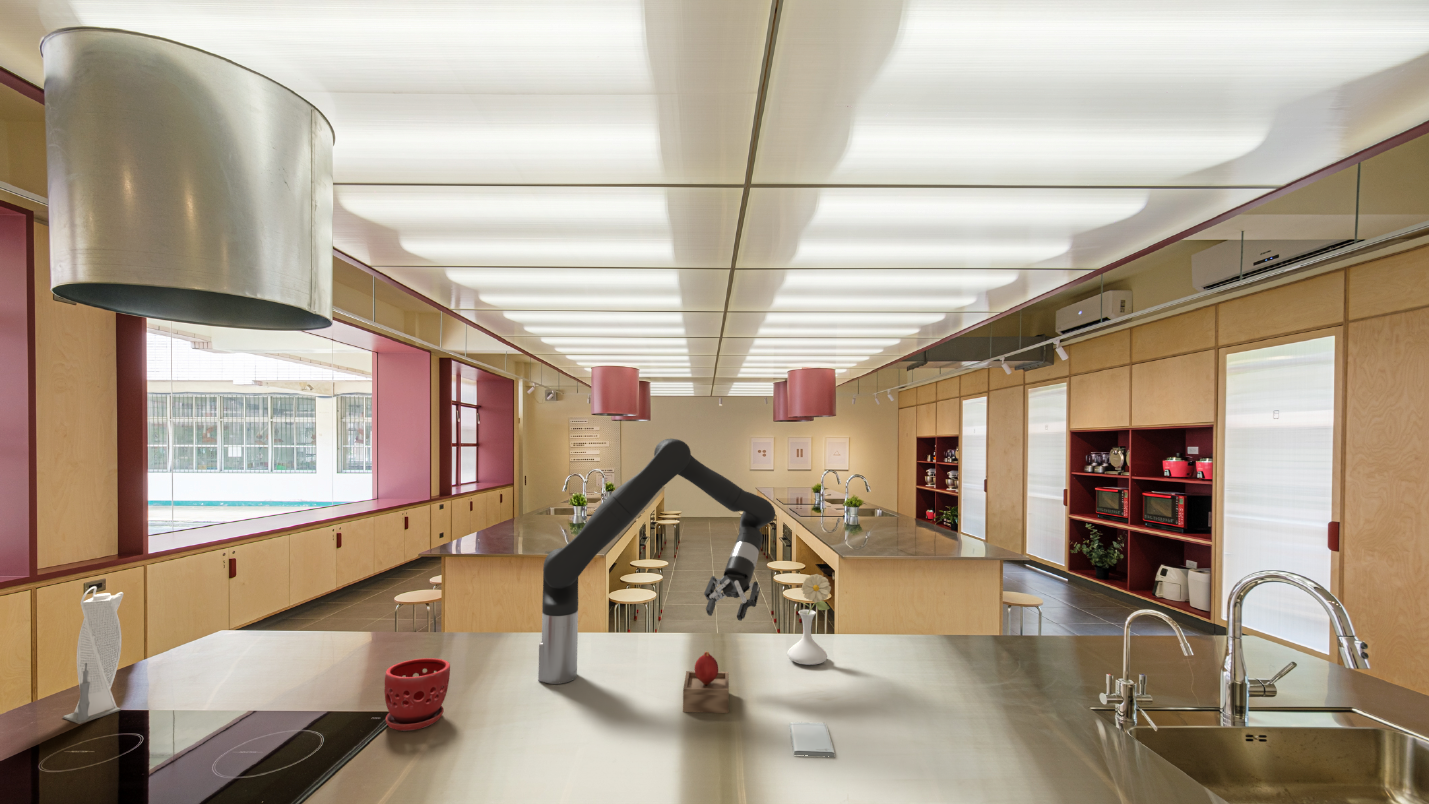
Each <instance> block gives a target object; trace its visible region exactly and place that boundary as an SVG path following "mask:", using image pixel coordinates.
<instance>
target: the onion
mask: <svg viewBox="0 0 1429 804" xmlns="http://www.w3.org/2000/svg"><path fill="white" fill-rule="evenodd" d="M693 671H695V675H696V677H697V678H698V679H699V680H700V681H701V682H702V683H703V684H704V685H708V684H710V683H711V682H712V681H713V680H714V679H715V678H716V677H717V675H718V672H719V665H718V661H717V660H716V659H715V658H714V656H713V655H711V654H710V652H709V651H708V650H707V651H704V654H703V655H701V656H699V657H698V659H697V660H696V662H695V663H694V670H693Z"/></svg>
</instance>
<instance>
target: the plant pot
mask: <svg viewBox="0 0 1429 804" xmlns="http://www.w3.org/2000/svg"><path fill="white" fill-rule="evenodd" d="M424 670H426V671H425V672H424ZM450 673H451V664H450V662H449V661H447V660H445V659H441V658H432V657H431V658H430V657H425V658H415V659H409V660H405V661H402V662H398V663H396V664H394V665H391V666H390V667H388V668H387V669H386V671H385V675H384V689H383V690H384V701H385V704H386V709H387V711H388V713H387V715H386V716H385V723H386V724H387V726H388V727H389V728H390V729H393V730H395V731H401V732H408V731H415V730H420V729H423V728H426V727H429V726H431V725H433V724H435V723H436V722H438V721H439V720H440V718H441V717H442V716H443V714H444V706H442V704H444V701H445V698H446V696H447V693H448V688H449V682H450V676H451V674H450ZM415 674H418V676H414V675H415Z"/></svg>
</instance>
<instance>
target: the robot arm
mask: <svg viewBox="0 0 1429 804" xmlns="http://www.w3.org/2000/svg"><path fill="white" fill-rule="evenodd" d="M653 456H654V457H652V459H651V460H650V461H649V462H648V464H647V465H645V467H644V468H643V469H642V470H640V471H639V472H637V474H636V475H634V476H633V477H631V478H630V479H628V480H627V481H625V482H624V483H622V484H621V485H620V486H618V488H616V489H615V490H614V491H612V493H610V495H608V497H606V498H605V500H604V501H603V502H602V503H601V504H600V505H599V506H598V507H597V508H596V509H595V511H594V512H593V513H592V514H591V516H590V517H589V519H588V520H587V522H586V523H585V525H584V526H583V527H582V529H581V530H580V531H579V533H578V534H576V536H575V537H574V538H572V540H571V541H569V543H567V544H566V545H565V546H564V547H559V548H555V549H553V550H552V551H550V552H549V553H548V554H547V556H546V557H545V558H544V562H543V568H542V572H543V574H542V581H543V582H542V605H541V607H542V608H541V609H542V611H541V612H542V613H541V614H542V615H541V616H542V617H541V641H540V642H539V645H538V673H537V674H538V675H537V676H538V677H537V678H538V679H537V681H538V682H543V683H545V684H550V685H560V684H566V683H569V682H572V681H573V680H575V679H576V678H577V676H578V638H579V636H578V635H579V634H578V631H579V630H578V629H579V628H578V627H579V625H578V624H579V577H580V576H581V574H582V573H583V572H584V570H585V569H586V568H587V566H588V565H589V564H590V563H591V562H592V560H593V559H594V558H595V557H596V556H597V554H599V553H600V551H602V550H603V549H604V548H605V547H607V545H608V544H610V543H611V542H612V541H613V540H614V539H615V538H616V537H617V536H619V534H620V533H621V532H623V530H625V529H626V528H627V527H628V526H629V524H630V523H631V522H632V521H633V520H634V519H635V518H636V517H637V516H638V515H639V514H640V513H641V512H642V511H643V510H644V508H645V507H646V506H647V505H648V504H649V503H650V502H651V500H652V499H653V498H654V497H655V496H656V494H658V492H660V490H661V489H662V488H664V487H665V485H666V484H668V483H669V482H670V481H672V480H673V479H674V478H675V477H676V476H679V477H682V478H683V479H685V480H687V481H689V482H690V483H691V484H693V485H695V486H696V487H697V488H699V489H700V490H701V491H703V492H704V493H705V494H707V495H708V496H709V497H710V498H712V499H714V500H715V501H716V502H717V503H719V504H720V505H722V506H723V507H725V508H726V509H728V510H729V511H731V512H733V513H737V512H738V513H739V512H742V513H741V516H740V521H739V527H738V528H739V532H738V533H739V534H738V535H737V537H736V541H735V542H734V545H733V548H732V550H731V552H730V553H729V554H730V555H729V557H728V560H727V563H726V566H725V568H724V570H723V571H724V572H723V576H722V577H721V578H716V577H715V576H714V575H712V576H711V577H710V579H709V581H708V583H707V586H706V588H705V590H704V592H703V595H704V597H705V599H706V600H707V601H708V602H707V604H706V608H705V611H706V613H707V616H710V617H712V616H713V614H714V611H715V607H716V605H717V602H719V601H720V600H723V599H724V598H725V597H727V598H734V599H738V598H740V600H741V602H742V603H740V605H739V608H738V611H737V613H736V618H737V620H738V621H742V620H744V619H745V617H746V614H747V612H748V609H749V608H750V607H753V608H755V607H756V606H757V604H758V598H759V596H760V595H759V594H760V591H761V586H760V585H759V583H758V581H754V582H751V581H752V578H753V575H754V573H755V569H756V566H757V564H758V563H757V562H758V558H759V553H760V550H761V547H762V543H763V541H764V537H763V533H762V531H760V530H761V528H763V527H765V526H767V525H769V524H771V523H772V522H773V521H774V519H775V518H776V510H775V507H774V506H773V504H772V503H771V502H770V501H769V500H767V498H766V499H765V498H764V497H762V496H759V495H757V494H754V493H752V492H749V491H746V490H745V489H743V488H741V486H738V485H737V484H736V483H734V482H733V481H732V480H730V479H728V478H727V477H725V476H724V475H721V474H720V473H718V472H716V471H715V470H713V469H711V468H709V467H707V466H706V465H704V464H703V463H701V461H699V460H698V459H696V458H695V457H694V456H693V455H692V452H691V449H690V447H689V445H688V444H687V443H686V442H684V441H683V440H682V439H681V440H680V439H677V438H666V439H663V440H660V442H658V443H657V445H656V447H654V453H653ZM749 590H750V595H749V598H747V597H746V595H745V593H746V592H747V591H749Z"/></svg>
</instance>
